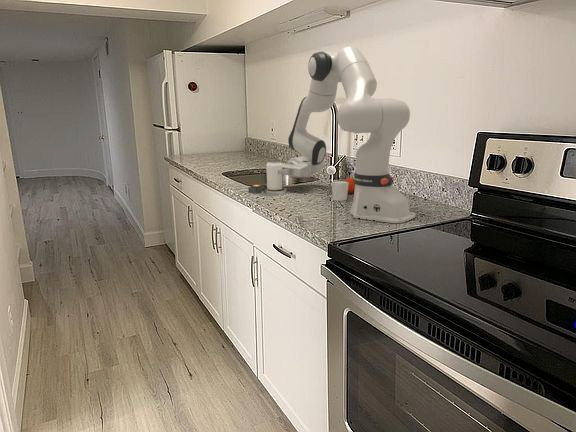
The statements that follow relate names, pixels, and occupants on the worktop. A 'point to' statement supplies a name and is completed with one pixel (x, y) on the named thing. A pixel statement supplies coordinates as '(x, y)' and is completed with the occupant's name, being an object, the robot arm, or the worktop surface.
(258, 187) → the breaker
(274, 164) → the can
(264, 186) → the panel
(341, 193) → the white cup
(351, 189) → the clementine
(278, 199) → the worktop surface
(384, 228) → the worktop surface
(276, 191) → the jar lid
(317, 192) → the worktop surface
